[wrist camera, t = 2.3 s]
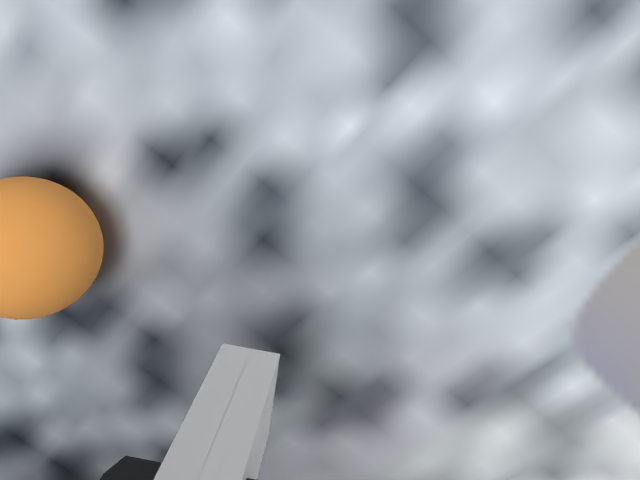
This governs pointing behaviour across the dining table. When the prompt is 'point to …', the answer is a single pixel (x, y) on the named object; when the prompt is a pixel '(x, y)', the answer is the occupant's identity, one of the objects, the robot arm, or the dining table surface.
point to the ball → (45, 247)
